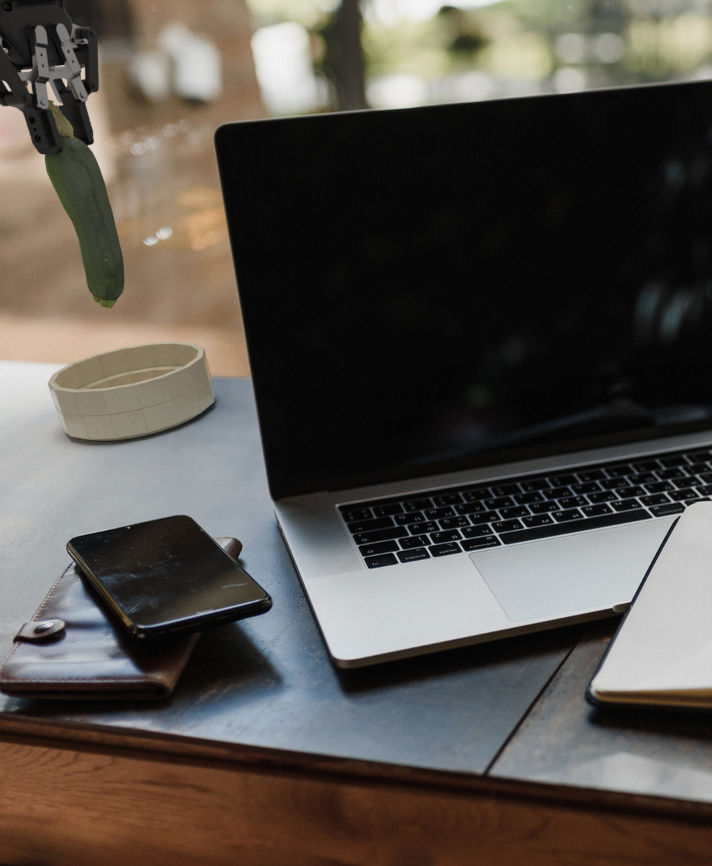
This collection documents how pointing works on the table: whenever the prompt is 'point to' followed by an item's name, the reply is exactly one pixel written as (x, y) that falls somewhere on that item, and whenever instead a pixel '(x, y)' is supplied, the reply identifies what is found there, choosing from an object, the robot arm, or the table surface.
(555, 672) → the table surface
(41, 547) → the table surface
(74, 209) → the vegetable
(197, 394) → the bowl
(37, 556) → the table surface
